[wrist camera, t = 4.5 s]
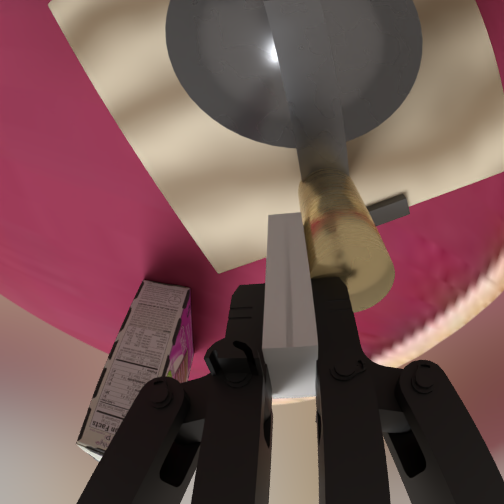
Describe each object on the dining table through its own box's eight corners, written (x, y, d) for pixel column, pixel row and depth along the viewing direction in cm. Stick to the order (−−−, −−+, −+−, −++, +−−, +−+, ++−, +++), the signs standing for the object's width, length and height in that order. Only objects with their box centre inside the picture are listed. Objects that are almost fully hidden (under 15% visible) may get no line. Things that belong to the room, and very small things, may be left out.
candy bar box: (197, 354, 33) (168, 490, 20) (155, 346, 33) (117, 476, 20) (194, 284, 26) (143, 470, 13) (141, 276, 26) (70, 444, 13)
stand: (64, 5, 12) (41, 4, 10) (375, -124, 4) (386, -139, 2) (222, 258, 24) (217, 281, 22) (498, 159, 16) (517, 173, 14)
